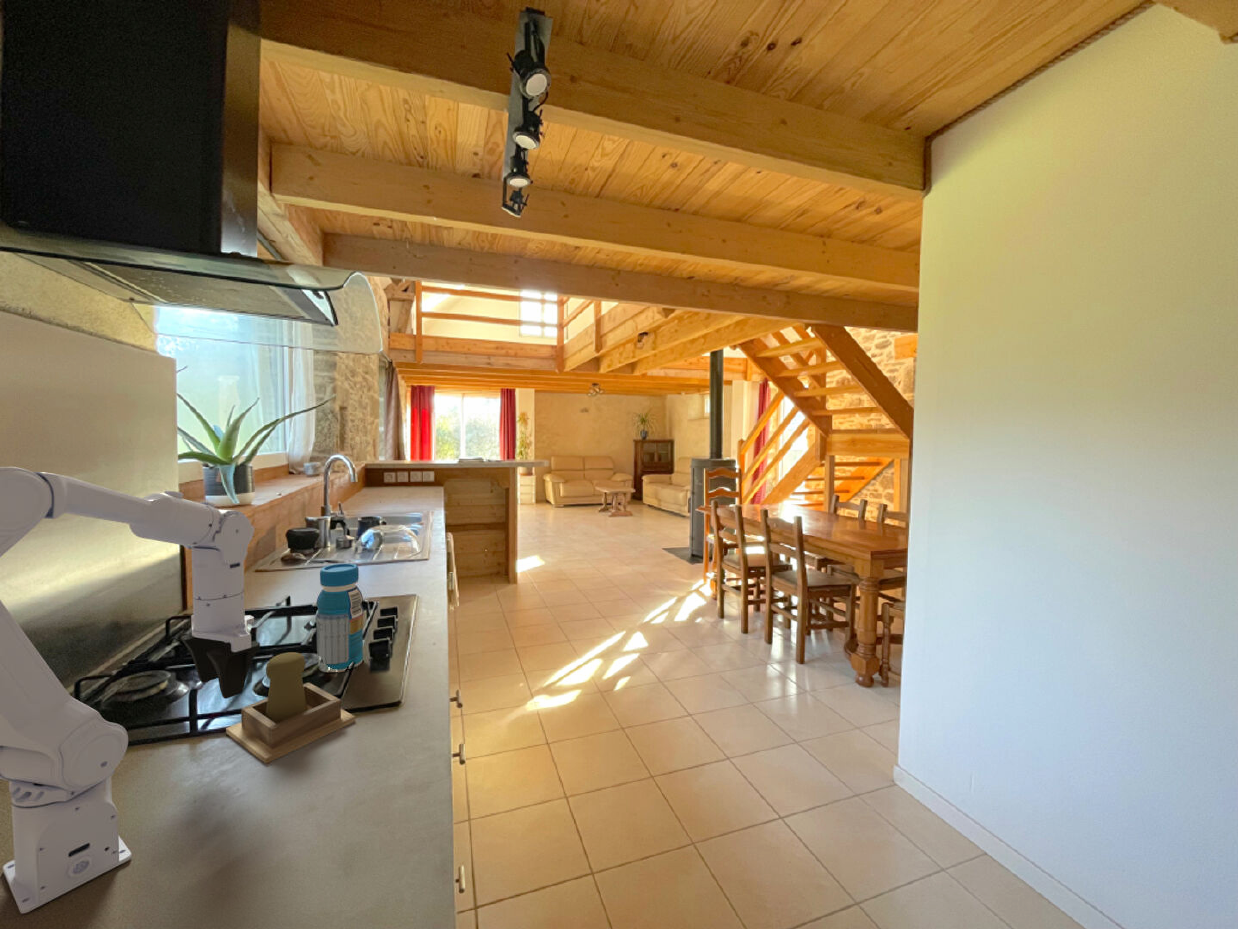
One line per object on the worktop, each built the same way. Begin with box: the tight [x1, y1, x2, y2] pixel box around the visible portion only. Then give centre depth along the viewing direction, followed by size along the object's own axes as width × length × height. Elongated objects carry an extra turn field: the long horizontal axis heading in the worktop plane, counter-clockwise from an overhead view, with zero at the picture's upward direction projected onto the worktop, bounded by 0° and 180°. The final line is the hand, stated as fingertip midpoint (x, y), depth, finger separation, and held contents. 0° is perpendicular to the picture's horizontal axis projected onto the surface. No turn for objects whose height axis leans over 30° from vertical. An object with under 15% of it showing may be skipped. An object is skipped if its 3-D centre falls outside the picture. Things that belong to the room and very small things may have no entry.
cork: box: [265, 651, 308, 724], centre depth 80 cm, size 6×6×11 cm
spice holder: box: [225, 682, 356, 764], centre depth 81 cm, size 13×13×4 cm
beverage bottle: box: [315, 562, 365, 673], centre depth 102 cm, size 8×8×20 cm
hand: (221, 687), depth 72 cm, fingers open, 7 cm apart
